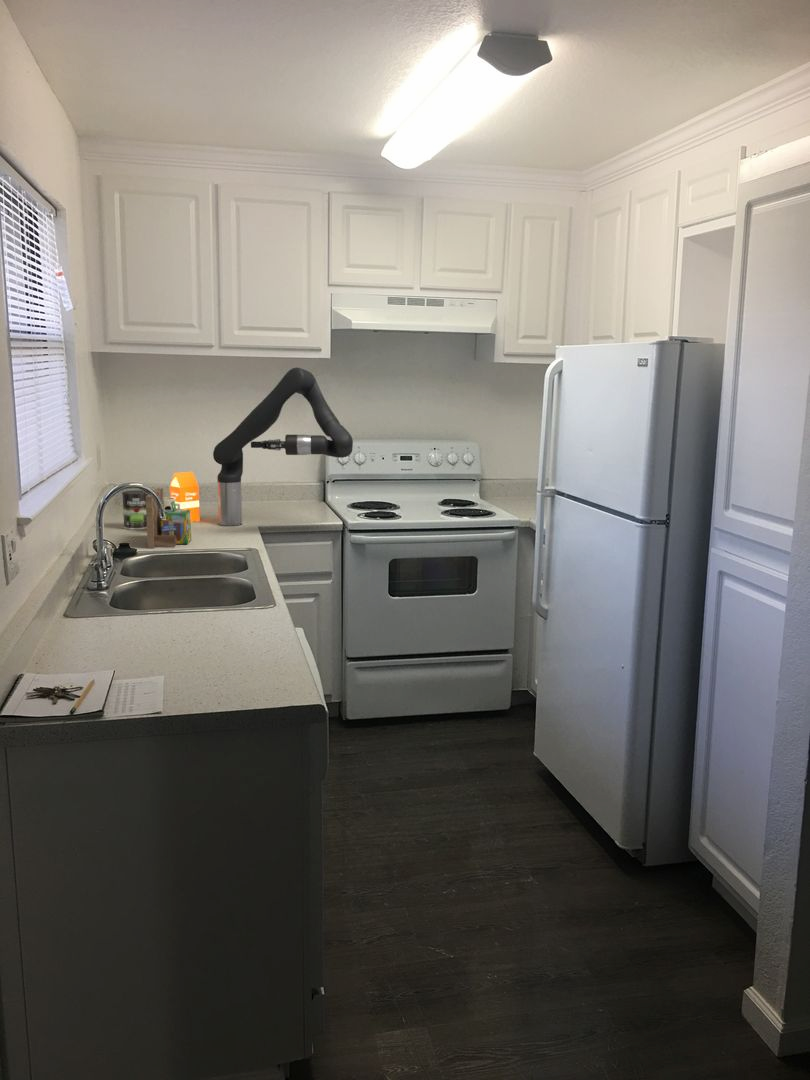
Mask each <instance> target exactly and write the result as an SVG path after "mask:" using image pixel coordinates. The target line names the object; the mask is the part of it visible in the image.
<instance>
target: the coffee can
mask: <svg viewBox="0 0 810 1080" xmlns="http://www.w3.org/2000/svg"><path fill="white" fill-rule="evenodd" d="M143 491H144V490H138V489H137V490H125V491H122V493H121V495H122V508H123V510H122V511H123V514H122V515H123V529H125V530H129V531H130V530H131V531H132V530H134V531H140V530H141V531H142V530H147V517H146V496H147V495H148V494H146V493H145V492H143Z"/></svg>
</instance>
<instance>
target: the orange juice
mask: <svg viewBox="0 0 810 1080" xmlns="http://www.w3.org/2000/svg"><path fill="white" fill-rule="evenodd" d="M199 488H200V487H199V483H198V482H197V478H196V476H195V475H194V472H193V471H187V472H184V471H183V472H174V474H173V476H172V480H171V482H170V484H169V497H170V498H175V503H179V504H180V509H189V510H190V519H191V523H194V522H193V521H197V522H200V495H199V493H200V492H199ZM176 509H178V506H176Z"/></svg>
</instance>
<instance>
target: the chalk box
mask: <svg viewBox="0 0 810 1080" xmlns="http://www.w3.org/2000/svg"><path fill="white" fill-rule="evenodd" d="M171 505H172V508H173V509H169V510H165V514H166V520H162V519H161V518H160V519H161V535H176V545H188V544H189V543H190V542H191V541H192V525H191V524H192V522H191V519H190V510H189V509H176V506H175V503H174V501H172V502H171ZM173 505H174V507H173ZM190 540H191V541H190ZM189 541H190V542H189ZM188 542H189V543H188Z"/></svg>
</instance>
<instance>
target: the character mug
mask: <svg viewBox="0 0 810 1080" xmlns="http://www.w3.org/2000/svg"><path fill="white" fill-rule="evenodd" d="M172 501H174V503H175V498H170V496H169V497H167V496H166V497H164V509H165V510H169V509H173V508H172V505H171V502H172ZM175 506H178V509H180V504H179V503H175ZM173 507H174V505H173Z"/></svg>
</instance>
